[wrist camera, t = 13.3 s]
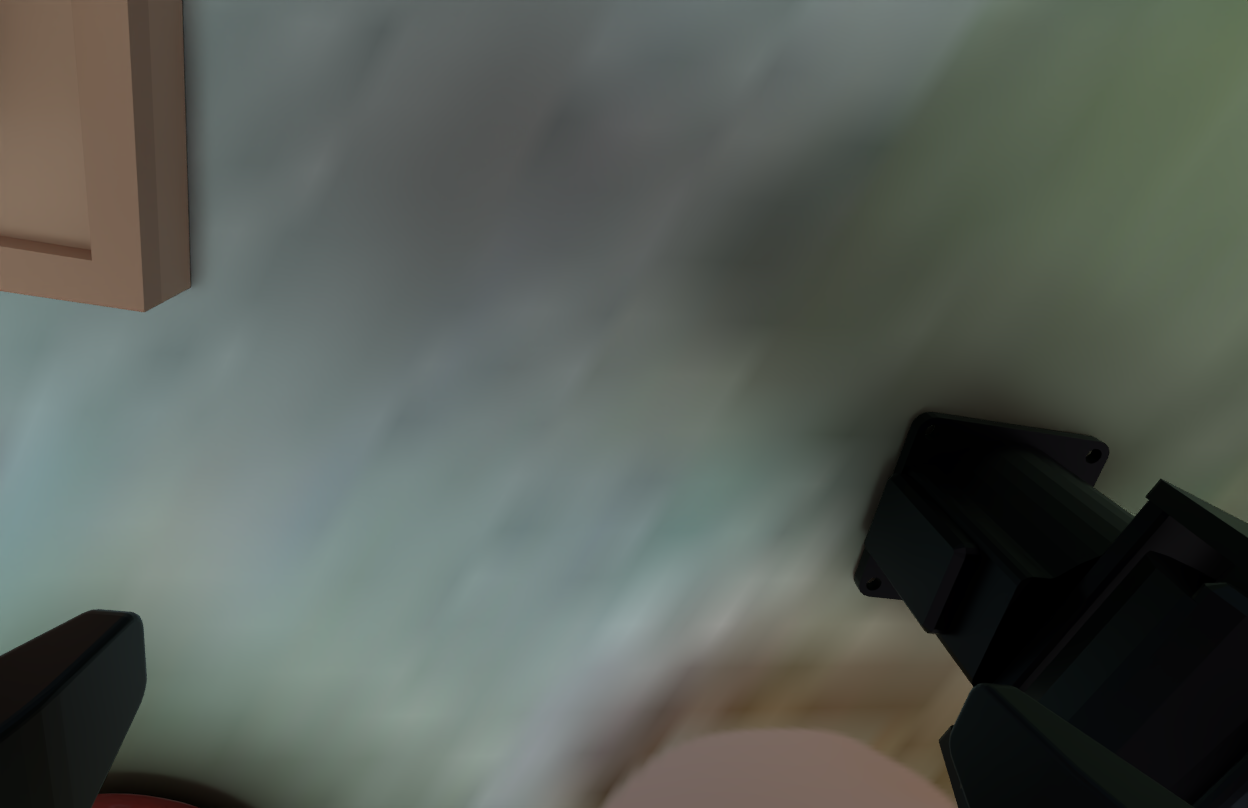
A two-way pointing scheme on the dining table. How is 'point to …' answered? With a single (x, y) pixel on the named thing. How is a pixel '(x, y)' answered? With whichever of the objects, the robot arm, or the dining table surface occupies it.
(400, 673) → the dining table surface
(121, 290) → the stand
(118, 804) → the plant pot
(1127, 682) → the robot arm
